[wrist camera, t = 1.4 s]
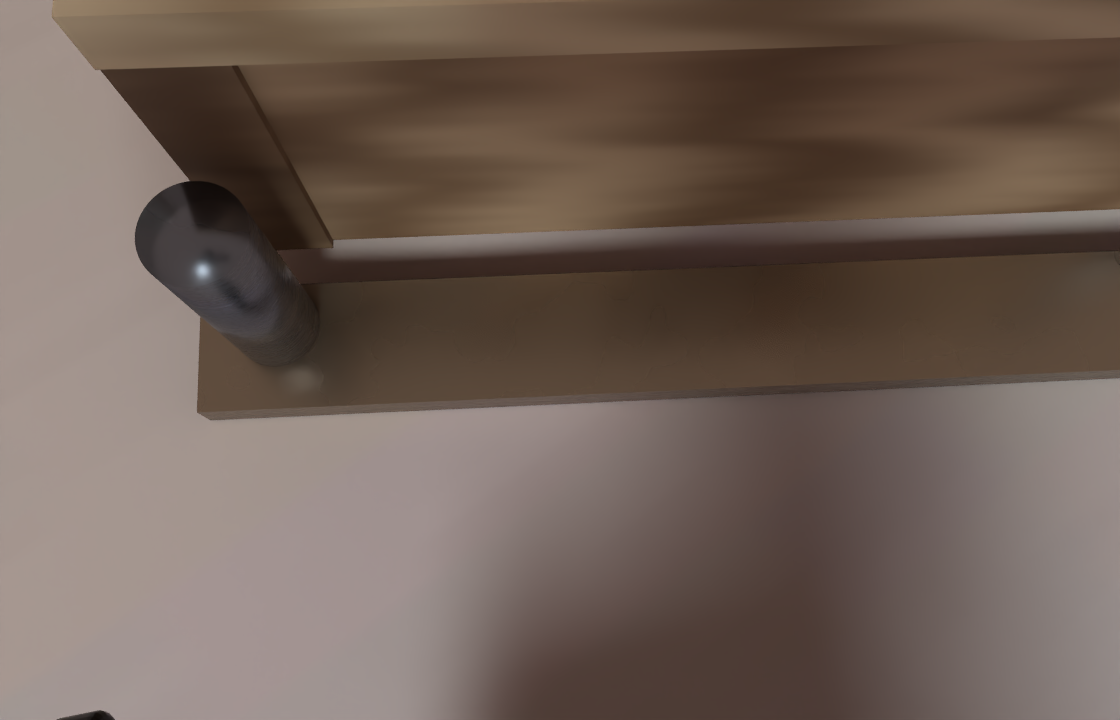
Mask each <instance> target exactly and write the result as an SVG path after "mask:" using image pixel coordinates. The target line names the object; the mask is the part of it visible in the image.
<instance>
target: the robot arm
mask: <svg viewBox="0 0 1120 720" xmlns="http://www.w3.org/2000/svg"><path fill="white" fill-rule="evenodd" d="M57 720H115V719H114V718H113V717H112V716H111V715H110V714H109V713H107V712H104V711H101V710H99V711H93V712H88V713H83V714H79V715H74V716H69V717H64V718H60V719H57Z"/></svg>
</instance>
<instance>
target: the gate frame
mask: <svg viewBox="0 0 1120 720" xmlns="http://www.w3.org/2000/svg"><path fill="white" fill-rule="evenodd" d="M135 245H136V250H137V253H138V256H139V258H140V260H141V262H142V264H143V265H144V267H145V268H146V269H147V270H148V271H149V272H150V273H151V274H152V275H153V276H154V277H155V278H156V279H158V280H159V281H160V282H161V283H162V284H163V285H164V286H166V287H167V288H168V289H169V290H170V291H171V292H173V293H174V294H175V295H176V296H177V297H178V298H180V299H181V300H182V301H183V302H184V303H185V304H187V305H188V306H189V307H190V308H191V309H192V310H194V311H195V312H196V313H197V314H198V315H199V316H200V343H199V372H198V401H197V413H199V414H201V415H202V416H204V417H206V418H208V419H210V420H225V419H247V418H268V417H290V416H312V415H333V414H355V413H376V412H398V411H419V410H441V409H462V408H484V407H505V406H527V405H549V404H570V403H592V402H613V401H635V400H656V399H678V398H699V397H721V396H742V395H764V394H786V393H807V392H829V391H850V390H872V389H893V388H915V387H936V386H958V385H979V384H1001V383H1022V382H1044V381H1066V380H1087V379H1109V378H1120V251H1101V252H1076V253H1052V254H1027V255H1003V256H979V257H954V258H930V259H905V260H881V261H856V262H832V263H807V264H783V265H759V266H734V267H710V268H685V269H661V270H636V271H612V272H588V273H563V274H539V275H514V276H490V277H465V278H441V279H416V280H392V281H368V282H343V283H319V284H300V283H299V282H298V280H297V279H296V278H295V276H294V275H293V273H292V272H291V271H290V269H289V268H288V267H287V265H286V264H285V262H284V261H283V260H282V258H281V257H280V256H279V254H278V253H277V251H276V250H275V249H274V247H273V246H272V245H271V243H270V242H269V240H268V239H267V238H266V236H265V235H264V234H263V232H262V231H261V229H260V228H259V227H258V225H257V224H256V223H255V221H254V220H253V218H252V217H251V216H250V214H249V213H248V212H247V210H246V209H245V207H244V206H243V205H242V203H241V202H240V201H239V199H238V198H237V197H236V196H235V195H234V194H233V193H231V192H230V191H229V190H227V189H225V188H224V187H222V186H219V185H217V184H214V183H210V182H205V181H188V182H183V183H179V184H176V185H173V186H171V187H169V188H167V189H165V190H163V191H162V192H160V193H159V194H158V195H156V196H155V197H154V198H153V199H152V200H151V201H150V202H149V203H148V204H147V206H146V207H145V208H144V210H143V212H142V213H141V215H140V217H139V220H138V222H137V226H136V232H135Z"/></svg>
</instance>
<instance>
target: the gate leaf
mask: <svg viewBox="0 0 1120 720" xmlns="http://www.w3.org/2000/svg"><path fill="white" fill-rule="evenodd" d="M52 18H53V19H54V20H55V22H56V23H57V24H58V25H59V26H60V28H61V29H62V30H63V31H64V33H65V34H66V35H67V36H68V37H69V39H70V40H71V41H72V42H73V43H74V45H75V46H76V47H77V48H78V50H79V51H80V52H81V53H82V54H83V56H84V57H85V58H86V59H87V61H88V62H89V63H90V64H91V65H92V67H93V68H94V69H95V70H101V71H102V73H103V74H104V75H105V76H106V78H107V79H108V80H109V81H110V82H111V84H112V85H113V86H114V87H115V89H116V90H117V91H118V92H119V94H120V95H121V96H122V97H123V98H124V100H125V101H126V102H127V103H128V105H129V106H130V107H131V108H132V110H133V111H134V112H135V113H136V115H137V116H138V117H139V118H140V119H141V121H142V122H143V123H144V124H145V126H146V127H147V128H148V129H149V131H150V132H151V133H152V134H153V136H154V137H155V138H156V139H157V140H158V142H159V143H160V144H161V145H162V147H163V148H164V149H165V150H166V152H167V153H168V154H169V155H170V156H171V158H172V159H173V160H174V161H175V163H176V164H177V165H178V166H179V168H180V169H181V170H182V171H183V173H184V174H185V175H186V176H187V177H188V179H189V180H190V181H205V182H210V183H214V184H217V185H219V186H222V187H224V188H225V189H227V190H229V191H230V192H231V193H233V194H234V195H235V196H236V197H237V198H238V199H239V201H240V202H241V203H242V205H243V206H244V207H245V209H246V210H247V212H248V213H249V214H250V216H251V217H252V218H253V220H254V221H255V223H256V224H257V225H258V227H259V228H260V229H261V231H262V232H263V234H264V235H265V236H266V238H267V239H268V240H269V242H270V243H271V245H272V246H273V247H274V249H275V250H290V249H316V248H333V240H341V239H367V238H392V237H418V236H443V235H469V234H495V233H520V232H546V231H571V230H597V229H622V228H648V227H674V226H699V225H725V224H750V223H776V222H801V221H827V220H853V219H878V218H904V217H929V216H955V215H980V214H1006V213H1031V212H1057V211H1083V210H1108V209H1120V0H53V8H52Z"/></svg>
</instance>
